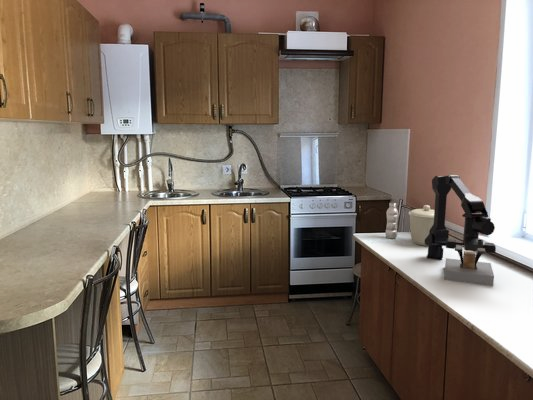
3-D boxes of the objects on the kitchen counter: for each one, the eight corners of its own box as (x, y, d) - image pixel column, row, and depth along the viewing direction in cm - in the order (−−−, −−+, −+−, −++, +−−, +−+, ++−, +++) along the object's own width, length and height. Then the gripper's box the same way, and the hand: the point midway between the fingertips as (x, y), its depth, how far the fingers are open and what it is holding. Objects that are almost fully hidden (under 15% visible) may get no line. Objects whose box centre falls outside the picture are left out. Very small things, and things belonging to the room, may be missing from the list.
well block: (444, 279, 182) (445, 270, 181) (445, 266, 198) (445, 258, 198) (493, 285, 175) (494, 276, 174) (489, 271, 192) (490, 263, 191)
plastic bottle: (391, 240, 244) (392, 204, 241) (382, 237, 250) (384, 202, 247) (399, 238, 247) (401, 203, 244) (391, 236, 253) (393, 201, 250)
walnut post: (462, 272, 185) (463, 253, 184) (462, 268, 189) (463, 250, 188) (473, 273, 184) (475, 254, 182) (473, 270, 188) (475, 252, 186)
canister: (412, 237, 250) (415, 201, 246) (446, 242, 239) (449, 204, 236) (402, 244, 235) (404, 205, 232) (437, 250, 225) (439, 209, 221)
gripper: (447, 231, 180) (444, 268, 182) (498, 236, 173) (494, 274, 175) (447, 225, 190) (444, 260, 192) (496, 229, 183) (492, 266, 185)
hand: (468, 265), depth 186 cm, fingers closed on walnut post, 4 cm apart
